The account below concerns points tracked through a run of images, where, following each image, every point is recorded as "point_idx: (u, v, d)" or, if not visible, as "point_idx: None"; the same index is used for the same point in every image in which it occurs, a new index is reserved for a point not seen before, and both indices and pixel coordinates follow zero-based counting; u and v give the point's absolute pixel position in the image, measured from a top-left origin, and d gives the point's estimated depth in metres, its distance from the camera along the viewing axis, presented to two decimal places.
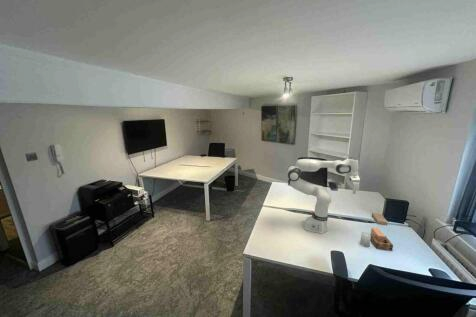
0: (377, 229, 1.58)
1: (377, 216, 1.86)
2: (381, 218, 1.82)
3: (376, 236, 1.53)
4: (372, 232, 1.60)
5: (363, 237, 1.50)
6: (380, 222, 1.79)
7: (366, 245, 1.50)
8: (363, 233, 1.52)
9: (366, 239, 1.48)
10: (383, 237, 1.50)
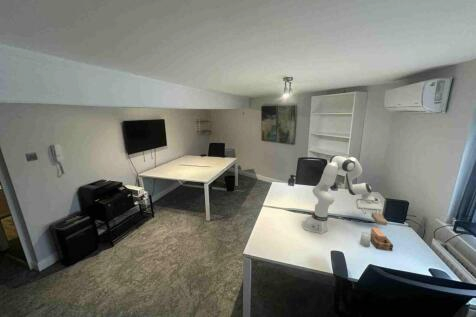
0: (377, 229, 1.58)
1: (377, 216, 1.86)
2: (381, 218, 1.83)
3: (376, 236, 1.53)
4: (372, 232, 1.60)
5: (363, 237, 1.50)
6: (380, 222, 1.79)
7: (366, 245, 1.50)
8: (363, 233, 1.52)
9: (366, 239, 1.48)
10: (383, 237, 1.50)
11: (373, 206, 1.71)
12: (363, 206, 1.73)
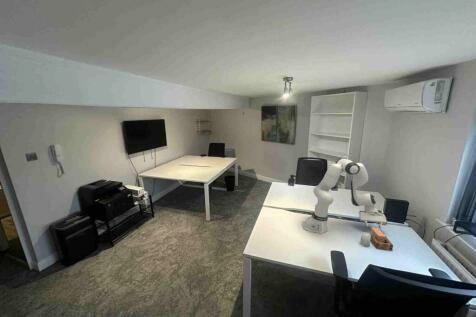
0: (376, 229, 1.58)
1: None
2: None
3: (376, 236, 1.53)
4: (372, 232, 1.60)
5: (363, 237, 1.50)
6: None
7: (366, 245, 1.50)
8: (363, 233, 1.52)
9: (366, 239, 1.48)
10: (383, 237, 1.50)
11: (376, 218, 1.64)
12: (366, 218, 1.66)
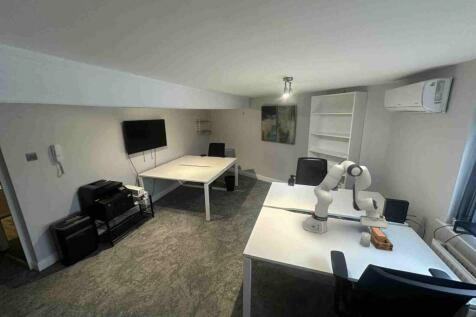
0: (377, 229, 1.58)
1: None
2: None
3: (376, 236, 1.53)
4: (372, 232, 1.60)
5: (363, 237, 1.50)
6: None
7: (366, 245, 1.50)
8: (363, 233, 1.52)
9: (366, 239, 1.48)
10: (383, 237, 1.50)
11: (378, 224, 1.61)
12: (367, 224, 1.63)
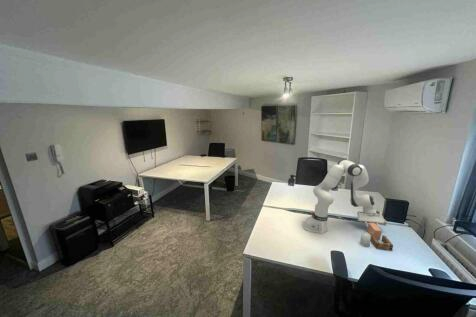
0: (373, 224, 1.64)
1: None
2: None
3: (373, 231, 1.59)
4: (369, 227, 1.66)
5: (363, 237, 1.50)
6: None
7: (366, 245, 1.50)
8: (363, 233, 1.52)
9: (366, 239, 1.48)
10: (379, 231, 1.56)
11: (375, 219, 1.68)
12: (364, 219, 1.69)
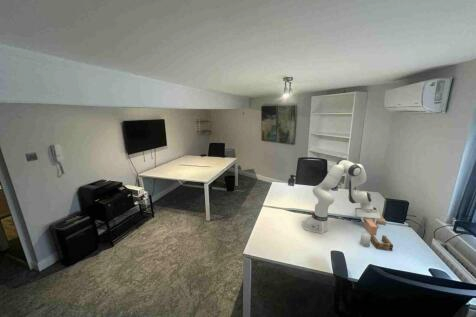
0: (370, 221, 1.71)
1: None
2: None
3: (369, 227, 1.66)
4: (366, 224, 1.73)
5: (363, 237, 1.50)
6: (379, 222, 1.79)
7: (366, 245, 1.50)
8: (363, 233, 1.52)
9: (366, 239, 1.48)
10: (375, 228, 1.62)
11: (371, 215, 1.74)
12: (362, 215, 1.75)
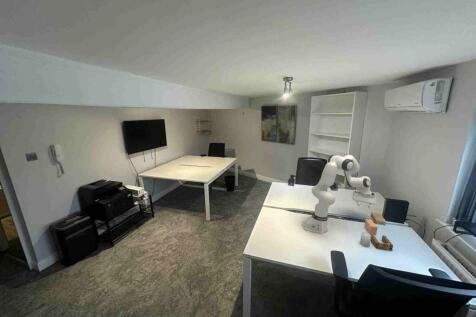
0: (370, 221, 1.71)
1: (376, 216, 1.87)
2: (380, 218, 1.83)
3: (369, 227, 1.66)
4: (366, 224, 1.73)
5: (363, 237, 1.50)
6: (378, 222, 1.79)
7: (366, 245, 1.50)
8: (363, 233, 1.52)
9: (366, 239, 1.48)
10: (375, 228, 1.62)
11: (368, 200, 1.80)
12: (358, 199, 1.81)
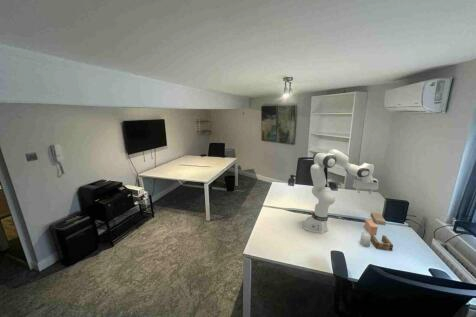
0: (370, 221, 1.71)
1: (376, 216, 1.87)
2: (379, 218, 1.83)
3: (369, 227, 1.66)
4: (366, 224, 1.73)
5: (363, 237, 1.50)
6: (378, 222, 1.79)
7: (366, 245, 1.50)
8: (363, 233, 1.52)
9: (366, 239, 1.48)
10: (375, 228, 1.62)
11: (369, 187, 1.72)
12: (359, 187, 1.74)
